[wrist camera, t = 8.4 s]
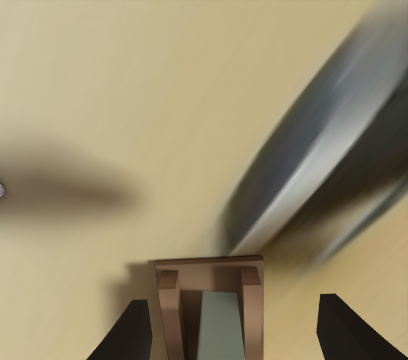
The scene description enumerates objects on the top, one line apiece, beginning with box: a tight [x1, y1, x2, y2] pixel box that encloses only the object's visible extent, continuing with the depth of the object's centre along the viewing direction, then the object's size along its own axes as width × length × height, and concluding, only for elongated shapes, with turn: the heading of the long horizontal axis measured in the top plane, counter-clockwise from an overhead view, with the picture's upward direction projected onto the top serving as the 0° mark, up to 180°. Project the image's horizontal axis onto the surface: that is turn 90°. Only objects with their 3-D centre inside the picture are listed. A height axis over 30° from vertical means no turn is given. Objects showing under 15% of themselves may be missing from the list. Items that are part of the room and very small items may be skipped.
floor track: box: [155, 256, 264, 360], centre depth 24 cm, size 14×8×3 cm, turn 4°
